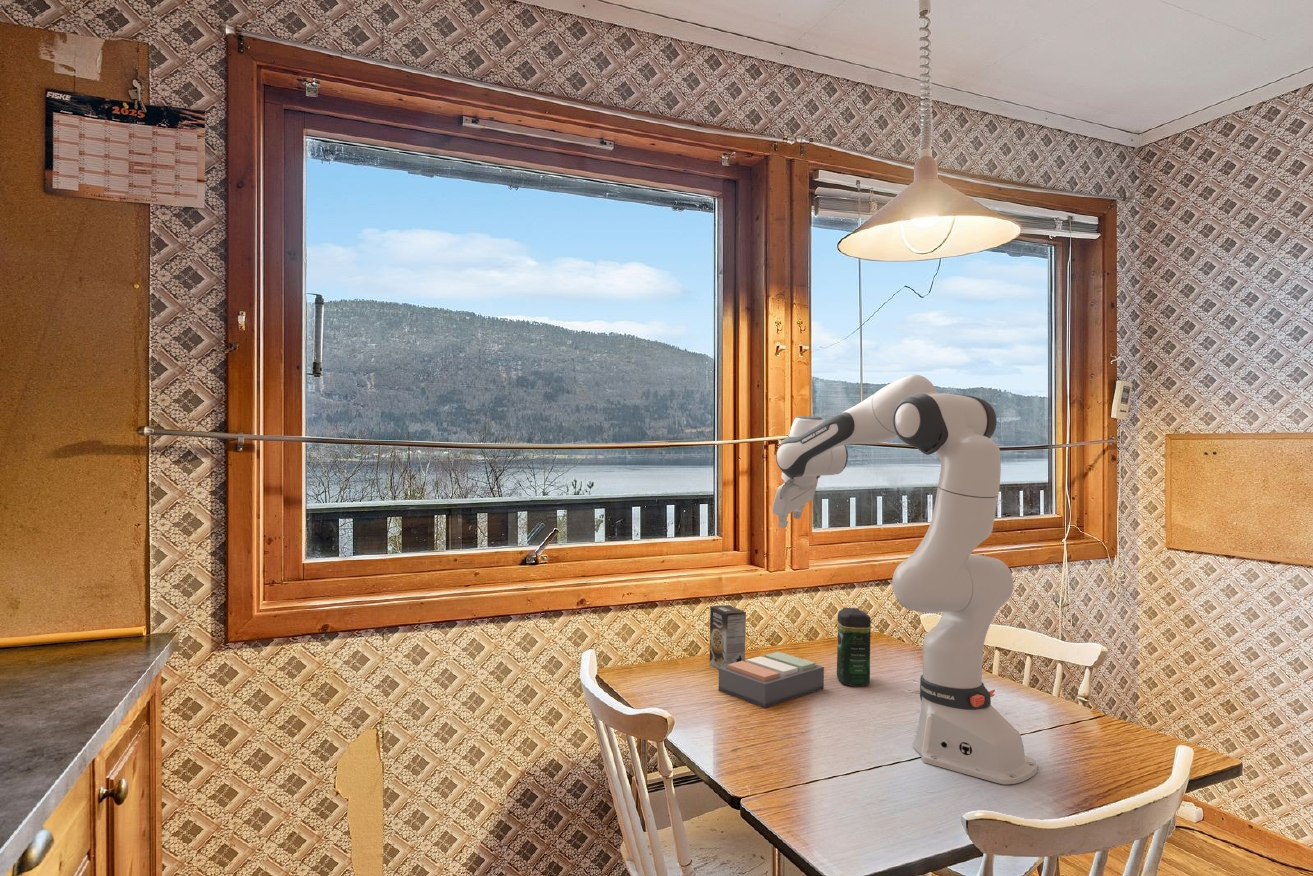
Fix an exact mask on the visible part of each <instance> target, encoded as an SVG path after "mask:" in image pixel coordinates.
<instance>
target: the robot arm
mask: <svg viewBox="0 0 1313 876" xmlns="http://www.w3.org/2000/svg"><path fill="white" fill-rule="evenodd" d="M996 428H997V415H996V411H995V410H994V407H993V406H992V404H990V403H989V402H988V401H986V400H985V399H982V398H980V397H977V396H974V395H969V394H952V393H947V392H946V393H944V392H942V393H941V392H940V393H939V392H938V391H937V390H936V387H935V385H934V384H933V383H932V381H930V380H929V379H928V378H927V377H924V376H923V375H920V374H909V375H905V376H903V377H901V378H898V379H896V380H893V381H892V382H890V383H888V384H886V385H885V386H883V387H882V388H880V389H879V390H878V391H875V392H874V393H872V394H871V395H870V396H868V397H866V398H865V399H864V400H862V401H861V402H859V403H857V404H856V405H854V406H852V407H850V408H847V409H846V410H844V411H842V412H840V413H838V414H836V415H835V416H833V417H830V418H829V419H826V420H825V419H824V418H822V417H820V416H813V415H812V416H811V415H798V416H796V417H795V418H794V420H793V422H792V423H791V428H790V431H789V433H788V434H789V436H787V437H786V438H784V439H783V440H782V441H781V443H780V444H779V445H778V447H777V450H776V453H775V460H776V464H777V467H778V468H779V470H780V471H781V476H780V477H781V479H782V480H783V483H782V484H780V485H779V486H778V487H777V489H776V492H775V495H774V499H773V500H774V501H773V504H772V508H771V509H772V514H774V515H776V516H778V520H779V522H778V527H779V528H780V529H786V528H787V527H788V517H789V514H791V513H793V515H792V518H793V519H795V520H799V519H801V518H802V514H803V511H804V509H805V507H806V504H807V503H809V502H811V501H812V500H813V498H814V496H815V494H816V490H817V487H818V482H819V479H820V478H821V476H834V475H839V474H841V473H842V472H843V471H844V470H845V468H846V467H847V464H848V460H849V452H848V448H847V446H849V445H859V444H862V445H863V444H881V443H886V442H890V441H892V440H895V439H897V438H899V439H900V440H901V441H902V442H904V443H905V444H907V445H909V446H911V447H913V448H916V449H917V450H919V451H920V452H921V453H922V454H925V455H927V456H928V455H933V454H936V455H937V456H938V458H939V461H940V474H939V479H938V484H937V490H936V495H935V501H934V506H933V512H932V516H931V521H930V523H929V526H928V527H927V528H928V529H927V531H926V532H925V534H924V537H923V538H922V540H921V542H920V543H919V544H918V546H917V548H916V549H915V550H914V551H913V552H912V553H911V554H910V555H909V556H908V557H907V558H906V559H904V560H903V561H902V562H900V563H899V564H898V565H897V566H896V568H895V570H894V572H893V575H892V581H891V584H892V585H891V586H892V591H893V595H894V596H895V599H896V600H897V602H898V603H899V604H900V605H901V606H902V607H903V608H905V609H906V610H910V611H914V612H919V613H920V612H921V613H926V614H933V613H935V614H936V613H941V614H942V615H941V617H940V619H939V620H938V622H937V623H936V625H935V626H934V627H932V629H930V630H929V631H928V632H927V633H926V634H925V636H924V639H923V642H922V674H921V675H920V680H919V681H920V684H919V698H920V701H921V703H920V713H919V720H918V725H917V726H918V727H917V730H916V733H915V738H914V740H913V743H912V745H913V748H914V750H915V751H916V752H917V753H919V755H920V757H921V758H920V759H921V760H922V762H924V763H926V764H930V765H933V766H936V767H940V768H944V769H948V770H951V771H953V772H956V773H957V772H958V773H960V774H965V775H968V776H970V777H971V776H972V777H975V778H979V779H983V780H984V781H989V782H992V783H996V784H1000V785H1015V784H1019V783H1023V782H1026V781H1028V780H1029V779H1030V778H1033V777H1034V776H1035V775H1036V774H1037V773H1038V769H1039V768H1038V762H1037V760H1036V759H1034V758H1031V757H1029V756H1027V755H1025V748H1024V742H1023V741H1024V740H1023V738H1022V735H1021V733H1020V732H1019V730H1017V728H1015V727H1014V726H1013V725H1012V724H1011V723H1010V722H1009V721H1008V720H1007V719H1006V718H1005V717H1004V716H1003V715H1002V713H1000V712H999V711H998V710H997V709H996V707H994V706H993V705H992V701H991V699H992V697H994V696H996V695H995V694H994V693H995V692H996V691H995V689H992V690H990V691H989V690H988V689H987V688H986V686H985V684H984V683H983V682H984V681H983V658H984V657H983V656H984V646H985V641H986V636H987V635H988V631H989V629H990V625H992V622H993V619H994V617H995V616H996V614H997V613H998V611H999V610H1000V608H1002V607H1003V606H1004V605H1005V603H1007V602H1008V601H1009V600H1010V599H1011V596H1012V594H1013V592H1014V591H1013V590H1014V583H1015V582H1014V578H1013V574H1012V572H1011V570H1010V568H1009V567H1008V565H1007V564H1006V563H1005V562H1003V561H1002V560H1000V559H999V558H996V557H992V556H991V557H990V556H987V555H982V554H972V553H973V551H974V550H975V549H976V548H977V547H978V546H979V545H980V544H982V543H983V542H985V541H986V540H987V539H988V538H990V536H991V534H992V532H993V529H994V523H995V518H996V517H995V516H996V512H997V504H998V498H999V493H1000V488H1001V487H1000V485H1001V473H1002V472H1001V471H1002V469H1001V463H1002V462H1001V460H1002V459H1001V450H1000V447H999V445H998V444H997V443H996V442H995V440H993V439H991V438H992V436H993V435H994V433H995V432H996ZM846 445H847V446H846Z"/></svg>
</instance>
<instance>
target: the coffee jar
mask: <svg viewBox="0 0 1313 876" xmlns="http://www.w3.org/2000/svg"><path fill="white" fill-rule="evenodd" d="M871 622H872V621H871V616H870V615H869V614H867V613H866V612H864V611H863V610H861V609H859V608H857V607H856V608H855V607H843V608H842V609H840V610H839V611H838V613H837V643H836V644H837V646H836V647H837V648H836V649H837V650H836V651H837V652H836V676H837V679H838V681H840V682H841V684H844V685H848V686H852V687H862V686H868V685H869V684H870V682H871V634H872V633H871V629H872V623H871Z"/></svg>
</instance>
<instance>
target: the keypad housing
mask: <svg viewBox="0 0 1313 876" xmlns="http://www.w3.org/2000/svg"><path fill="white" fill-rule="evenodd" d="M763 657H765V655H764V656H763ZM745 662H747V660H745ZM824 683H825V667H824V666H822V665H818V664H815V668H811V669H808V670H804V671H800V670H798V672H797V673H794V674H791V675H787V676H781V675H779V678H777V679H773V680H770V681H766V682H763V681H760V680H757V679H755V678H752V677H749V676H746V675H743V674H740V673H737V672H734V671H731V670H728V669H727V666H726V667H722V668H719V669H718V692H721V693H724V694H727V695H730V696H732V697H734V698H737V699H740V700H742V701H744V702H748V703H750V704H752V705H755V706H757V707H761V708H763V709H767V708H771V707H773V706H776V705H779V704H782V703H785V702H789V701H792V700H795V699H799V698H801V697H804V696H807V695H809V694H813V693H816V692H819V691H821V690H824V689H825V688H824V687H825V686H824Z"/></svg>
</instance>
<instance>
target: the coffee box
mask: <svg viewBox="0 0 1313 876" xmlns="http://www.w3.org/2000/svg"><path fill="white" fill-rule="evenodd" d="M709 607H710V609H709V610H710V612H709V613H710V614H709V665H711V666H712V667H714V668H715V669H717V670H719V668H722V667H726V666H727V665H728V664H732V663H736V662H739V661H744V662H745V661H746V660H745V659H746V628H747V627H746V626H747V623H746V621H747V612H746V611H745V610H742V609H739V608H737V607H734V606H732V605H729V604H728V605H722V604H721V605H712V606H709Z"/></svg>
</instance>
